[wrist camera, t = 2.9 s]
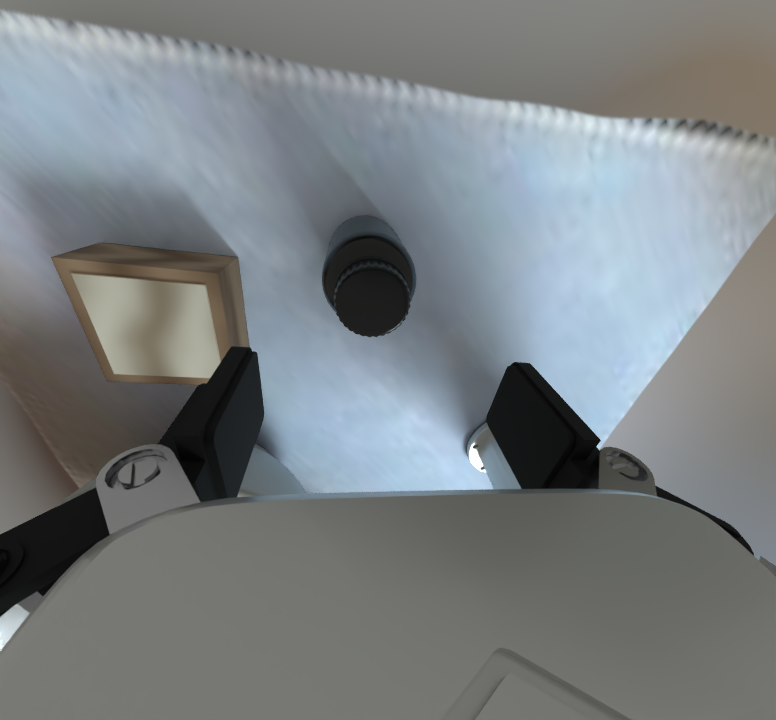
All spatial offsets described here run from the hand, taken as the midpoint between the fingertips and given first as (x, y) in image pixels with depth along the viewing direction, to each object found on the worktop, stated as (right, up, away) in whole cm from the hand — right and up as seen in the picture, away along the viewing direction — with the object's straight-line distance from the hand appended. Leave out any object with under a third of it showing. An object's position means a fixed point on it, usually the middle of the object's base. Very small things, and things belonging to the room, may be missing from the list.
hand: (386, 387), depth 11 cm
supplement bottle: (-2, +11, +17) cm, 21 cm away
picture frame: (-20, +6, +18) cm, 27 cm away
